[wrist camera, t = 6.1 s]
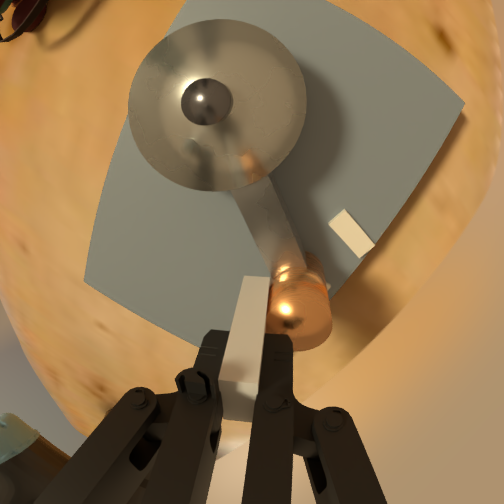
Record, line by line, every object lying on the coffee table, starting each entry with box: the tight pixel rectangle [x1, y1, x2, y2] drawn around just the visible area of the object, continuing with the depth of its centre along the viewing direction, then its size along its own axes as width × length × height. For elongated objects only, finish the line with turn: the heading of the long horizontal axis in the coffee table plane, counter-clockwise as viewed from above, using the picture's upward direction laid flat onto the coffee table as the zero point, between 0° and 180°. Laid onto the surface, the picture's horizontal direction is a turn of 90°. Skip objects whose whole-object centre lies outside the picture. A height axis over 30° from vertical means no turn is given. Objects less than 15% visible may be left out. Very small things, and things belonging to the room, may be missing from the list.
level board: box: [84, 0, 465, 348], centre depth 16 cm, size 24×16×2 cm, turn 152°
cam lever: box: [128, 19, 332, 351], centre depth 12 cm, size 16×8×5 cm, turn 24°
